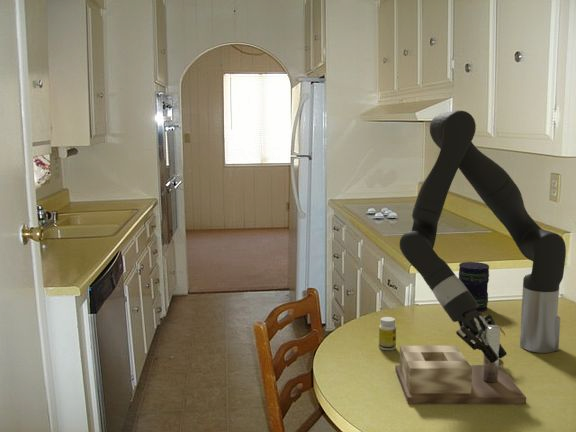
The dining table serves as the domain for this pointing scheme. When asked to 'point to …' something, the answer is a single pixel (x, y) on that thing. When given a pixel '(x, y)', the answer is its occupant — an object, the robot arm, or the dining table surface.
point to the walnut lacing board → (480, 391)
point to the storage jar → (476, 281)
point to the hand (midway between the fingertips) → (499, 358)
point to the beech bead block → (435, 369)
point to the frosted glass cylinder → (494, 340)
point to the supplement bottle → (387, 333)
